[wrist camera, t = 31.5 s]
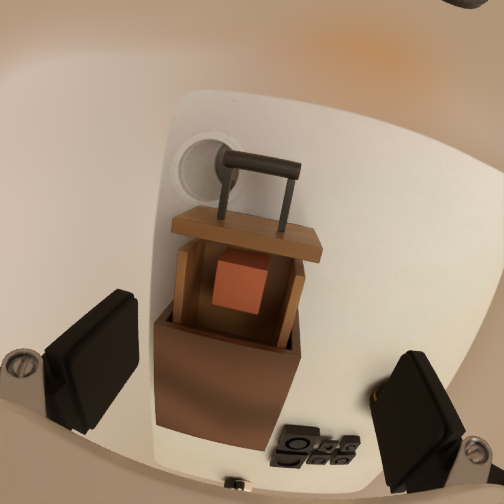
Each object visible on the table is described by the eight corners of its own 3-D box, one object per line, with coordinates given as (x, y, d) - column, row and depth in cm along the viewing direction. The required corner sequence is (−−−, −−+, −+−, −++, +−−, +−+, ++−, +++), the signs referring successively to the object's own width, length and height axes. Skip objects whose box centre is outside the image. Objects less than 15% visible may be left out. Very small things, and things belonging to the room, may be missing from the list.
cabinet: (186, 283, 32) (153, 322, 23) (298, 307, 31) (301, 357, 22) (179, 378, 36) (156, 424, 27) (269, 399, 35) (264, 451, 27)
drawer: (209, 148, 27) (183, 142, 20) (326, 170, 26) (341, 171, 19) (185, 322, 32) (162, 358, 25) (283, 344, 32) (281, 387, 25)
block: (221, 286, 29) (211, 304, 25) (227, 246, 28) (217, 260, 24) (262, 295, 29) (258, 315, 25) (270, 255, 28) (267, 270, 24)
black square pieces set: (224, 481, 45) (222, 494, 42) (238, 418, 36) (235, 437, 33) (318, 489, 44) (318, 502, 41) (367, 428, 36) (371, 445, 32)
